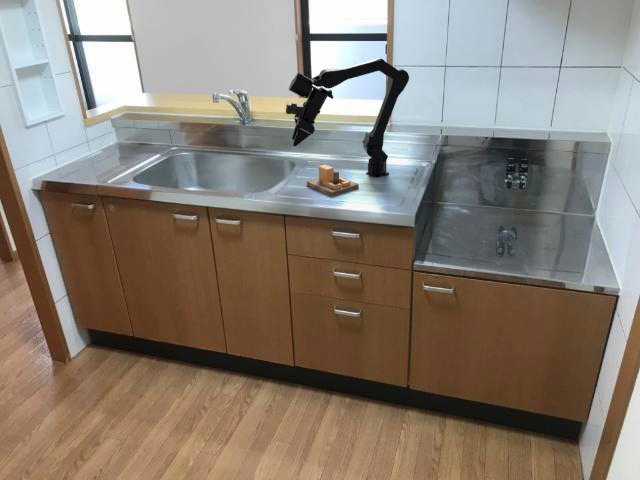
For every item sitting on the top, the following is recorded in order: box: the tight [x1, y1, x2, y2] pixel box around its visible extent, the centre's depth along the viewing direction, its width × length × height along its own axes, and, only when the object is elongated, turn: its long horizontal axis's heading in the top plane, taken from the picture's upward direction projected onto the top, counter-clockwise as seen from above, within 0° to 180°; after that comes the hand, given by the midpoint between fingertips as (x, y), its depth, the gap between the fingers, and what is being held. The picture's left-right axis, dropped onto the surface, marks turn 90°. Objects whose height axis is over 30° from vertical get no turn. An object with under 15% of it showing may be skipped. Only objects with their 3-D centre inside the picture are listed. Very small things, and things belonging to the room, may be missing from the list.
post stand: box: [306, 170, 360, 197], centre depth 184 cm, size 15×12×6 cm
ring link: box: [318, 164, 351, 189], centre depth 184 cm, size 12×7×5 cm, turn 36°
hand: (293, 142), depth 186 cm, fingers open, 9 cm apart
